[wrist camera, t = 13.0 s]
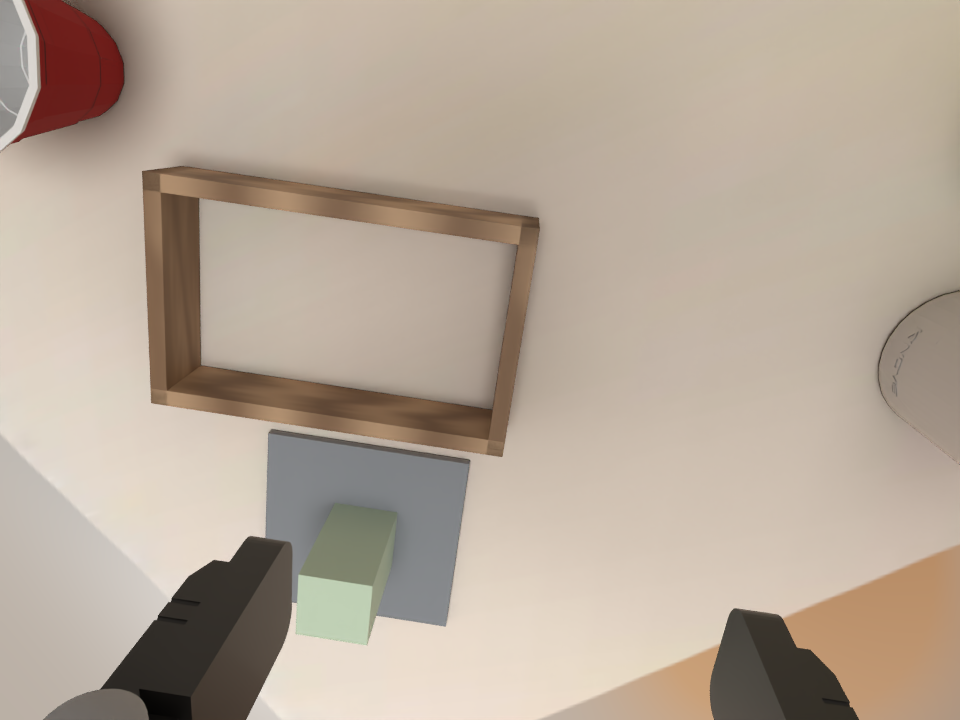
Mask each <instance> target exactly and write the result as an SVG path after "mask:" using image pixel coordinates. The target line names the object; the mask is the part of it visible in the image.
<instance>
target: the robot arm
mask: <svg viewBox="0 0 960 720" xmlns="http://www.w3.org/2000/svg"><path fill="white" fill-rule="evenodd" d="M879 383H880V387H881V391H882V394H883V396H884V398H885V400H886V402H887V403H888V405H889V406H890V407H891V409H892V410H893V411H894V412H895V413H896V414H897V415H898V416H899V417H901V418H902V419H903V420H904V421H906V422H907V423H908V424H910V425H911V426H912V427H913V428H915V429H916V430H917V431H918V432H920V433H921V434H922V435H923V436H925V437H926V438H927V439H928V440H930V441H931V442H932V443H933V444H934V445H936V446H937V447H938V448H939V449H941V450H942V451H943V452H944V453H946V454H947V455H948V456H950V457H951V458H952V459H953V460H955V461H956V462H957V463H958V464H960V291H959V292H954V293H950V294H946V295H943V296H940V297H938V298H936V299H933V300H931V301H929V302H927V303H925V304H924V305H922V306H921V307H919V308H918V309H916V310H914V311H913V312H912V313H911V314H910V315H909V316H907V317H906V318H905V319H904V320H903V321H902V322H901V323H900V324H899V325H898V327H897V328H896V329H895V331H894V332H893V333H892V335H891V336H890V337H889V339H888V341H887V344H886V346H885V348H884V350H883V352H882V356H881V360H880V364H879ZM292 558H293V551H292V545H291V543H290V542H288V541H281V540H274V539H267V538H260V537H254V536H250V537H248V538H247V539H246V540H245V541H244V542H243V544H242V545H241V547H240V548H239V549H238V551H237V552H236V554H235V555H234V556H233V558H232V559H231V561H230V562H224V561H217V560H213V561H212V562H210V563H209V564H207V565H206V566H204V567H203V568H201V569H199V570H198V571H196V572H195V573H193V574H192V575H190V576H189V577H188V578H187V579H186V580H185V582H184V583H183V584H182V586H181V587H180V588H179V589H178V591H177V592H176V593H175V595H174V596H173V597H172V600H171V602H168V604H167V605H166V606H165V607H164V609H163V610H162V611H161V612H160V614H159V615H158V619H157V620H154V621H153V623H152V624H151V625H150V627H149V628H148V629H147V631H146V632H145V633H144V634H143V636H142V637H141V638H140V639H139V641H138V642H137V643H136V644H135V646H134V647H133V648H132V650H131V651H130V652H129V654H128V655H127V656H126V657H125V658H124V660H123V661H122V662H121V664H120V665H119V666H118V667H117V669H116V670H115V671H114V672H113V674H112V675H111V676H110V678H109V679H108V680H107V681H106V683H105V684H104V685H103V687H102V688H101V689H100V690H95V691H92V692H87V693H84V694H82V695H79V696H77V697H74V698H72V699H70V700H68V701H67V702H65V703H63V704H62V705H60V706H58V707H57V708H56V709H55V710H53V711H52V712H51V713H50V714H48V716H46V717H45V718H44V719H43V720H246V719H247V717H248V715H249V713H250V710H251V708H252V707H253V705H254V703H255V701H256V699H257V697H258V695H259V693H260V691H261V689H262V687H263V685H264V683H265V680H266V678H267V676H268V674H269V672H270V670H271V668H272V666H273V664H274V662H275V660H276V658H277V656H278V654H279V652H280V650H281V648H282V646H283V644H284V641H285V639H286V636H287V632H288V628H289V624H290V619H291V611H292ZM710 702H711V709H712V714H713V717H714V720H859V719H858V717H857V715H856V713H855V711H854V709H853V708H851V707H850V706H849V703H850V702H849V700H848V698H847V696H846V695H845V693H844V691H843V689H842V687H841V685H840V683H839V682H838V680H837V678H836V676H835V675H834V673H833V672H831V670H830V669H829V668H828V667H827V666H825V664H823V662H822V661H821V660H820V659H819V658H818V657H817V656H816V655H815V654H814V653H813V652H812V651H811V650H808V649H801V648H797V647H796V645H795V643H794V641H793V639H792V637H791V635H790V633H789V631H788V629H787V627H786V625H785V623H784V621H783V619H782V618H781V617H780V616H779V615H777V614H771V613H764V612H757V611H750V610H743V609H737V608H735V609H733V610H732V611H731V613H730V615H729V617H728V620H727V624H726V627H725V630H724V634H723V637H722V641H721V644H720V648H719V651H718V654H717V658H716V662H715V665H714V669H713V672H712V676H711V682H710Z"/></svg>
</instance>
